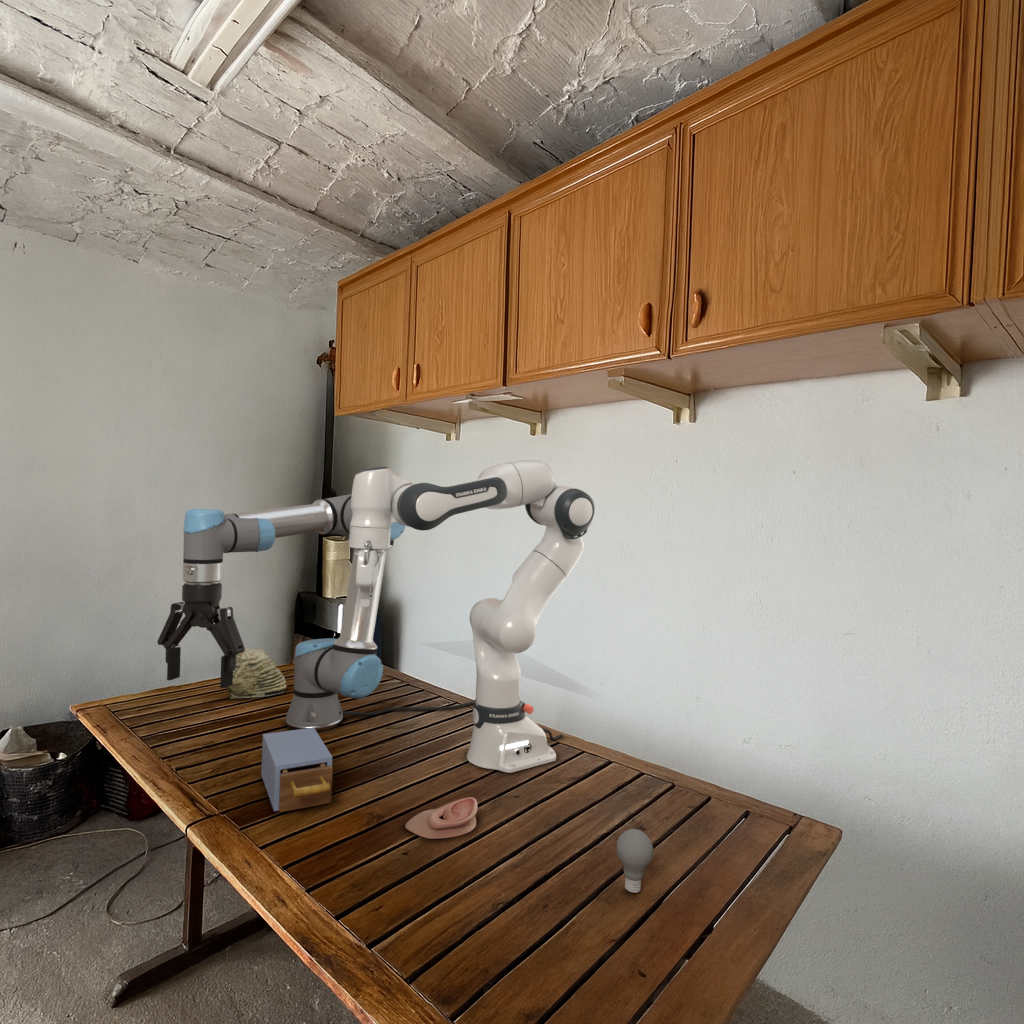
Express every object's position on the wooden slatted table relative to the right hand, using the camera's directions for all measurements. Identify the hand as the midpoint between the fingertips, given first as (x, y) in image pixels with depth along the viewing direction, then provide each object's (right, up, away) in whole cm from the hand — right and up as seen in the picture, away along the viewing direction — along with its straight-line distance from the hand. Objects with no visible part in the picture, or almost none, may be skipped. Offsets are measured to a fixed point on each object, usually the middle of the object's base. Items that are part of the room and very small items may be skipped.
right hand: (366, 602), depth 139 cm
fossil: (-49, -37, +59) cm, 85 cm away
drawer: (-12, -39, -7) cm, 42 cm away
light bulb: (+52, -43, -34) cm, 76 cm away
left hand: (-34, -16, -6) cm, 38 cm away
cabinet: (-15, -40, -2) cm, 43 cm away
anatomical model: (+18, -42, -15) cm, 48 cm away
